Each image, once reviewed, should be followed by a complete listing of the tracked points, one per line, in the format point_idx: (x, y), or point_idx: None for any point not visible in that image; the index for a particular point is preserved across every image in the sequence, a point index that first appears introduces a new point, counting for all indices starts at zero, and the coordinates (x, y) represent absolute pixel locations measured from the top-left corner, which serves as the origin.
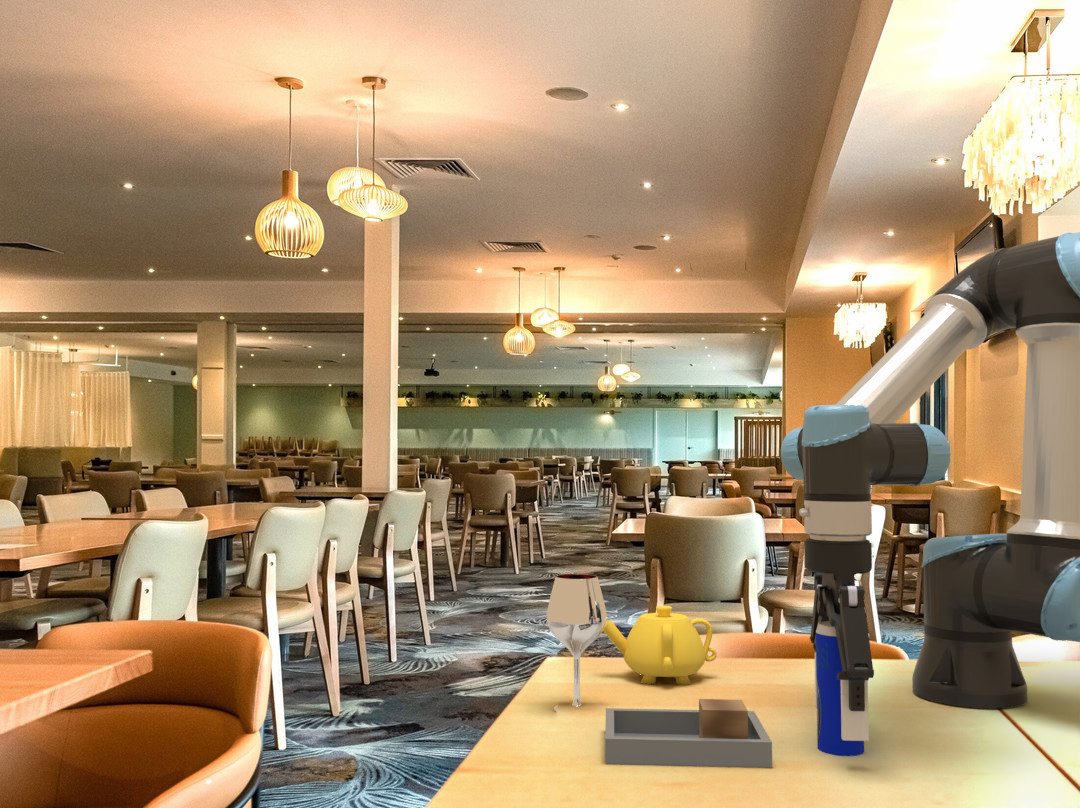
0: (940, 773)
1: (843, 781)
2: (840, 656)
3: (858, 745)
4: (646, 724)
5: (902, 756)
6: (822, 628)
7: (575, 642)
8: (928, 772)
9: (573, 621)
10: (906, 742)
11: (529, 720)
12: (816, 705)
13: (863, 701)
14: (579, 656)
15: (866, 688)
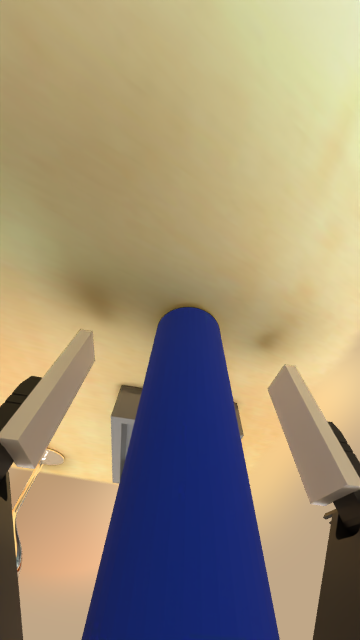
0: (307, 222)
1: (277, 360)
2: (326, 576)
3: (219, 333)
4: (123, 456)
5: (202, 242)
6: None
7: (19, 542)
8: (293, 242)
9: None
10: (115, 184)
11: (81, 472)
12: (92, 363)
13: (345, 444)
14: (14, 515)
15: (348, 462)
